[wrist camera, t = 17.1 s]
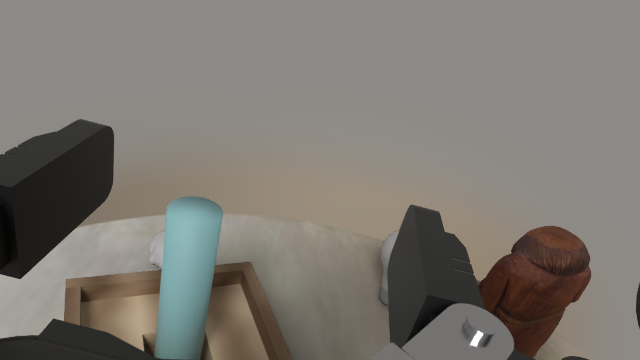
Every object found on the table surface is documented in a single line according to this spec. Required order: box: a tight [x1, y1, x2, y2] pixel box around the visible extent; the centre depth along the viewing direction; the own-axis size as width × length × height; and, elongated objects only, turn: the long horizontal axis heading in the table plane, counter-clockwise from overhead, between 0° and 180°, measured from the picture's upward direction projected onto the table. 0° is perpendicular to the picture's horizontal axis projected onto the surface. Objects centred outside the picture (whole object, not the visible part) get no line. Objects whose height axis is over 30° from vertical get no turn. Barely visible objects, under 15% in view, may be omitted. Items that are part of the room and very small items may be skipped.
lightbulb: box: [379, 230, 399, 305], centre depth 56 cm, size 6×6×11 cm
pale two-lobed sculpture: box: [148, 230, 165, 269], centre depth 54 cm, size 4×8×5 cm
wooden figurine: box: [478, 226, 591, 358], centre depth 51 cm, size 12×6×18 cm, turn 115°
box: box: [64, 262, 292, 360], centre depth 41 cm, size 18×18×6 cm
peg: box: [154, 197, 223, 360], centre depth 38 cm, size 4×4×19 cm
